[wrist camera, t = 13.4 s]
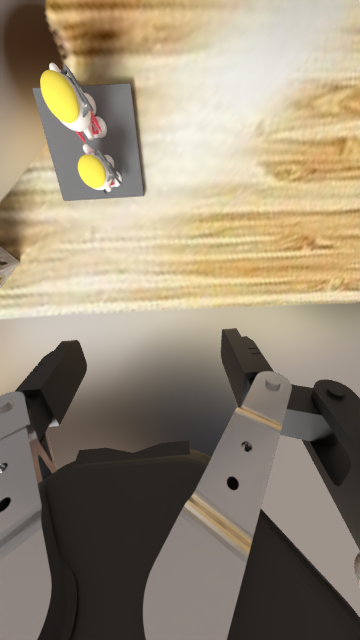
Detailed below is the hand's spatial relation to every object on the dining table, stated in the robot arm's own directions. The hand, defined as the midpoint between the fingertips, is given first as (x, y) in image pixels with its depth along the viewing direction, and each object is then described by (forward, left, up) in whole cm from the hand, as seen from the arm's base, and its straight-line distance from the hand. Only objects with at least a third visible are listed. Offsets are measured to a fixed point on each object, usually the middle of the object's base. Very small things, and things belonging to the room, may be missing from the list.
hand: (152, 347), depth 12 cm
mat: (+8, -15, -28) cm, 33 cm away
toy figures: (+8, -15, -27) cm, 32 cm away
